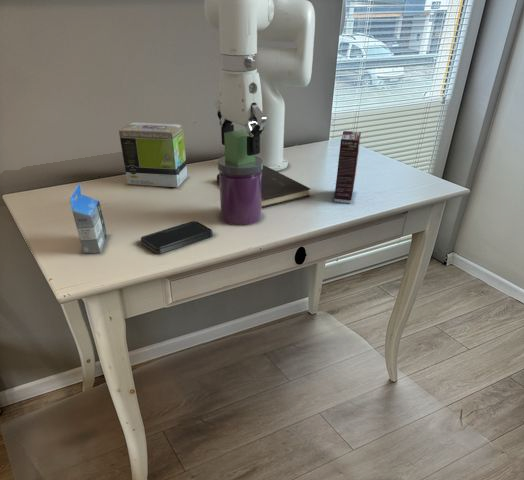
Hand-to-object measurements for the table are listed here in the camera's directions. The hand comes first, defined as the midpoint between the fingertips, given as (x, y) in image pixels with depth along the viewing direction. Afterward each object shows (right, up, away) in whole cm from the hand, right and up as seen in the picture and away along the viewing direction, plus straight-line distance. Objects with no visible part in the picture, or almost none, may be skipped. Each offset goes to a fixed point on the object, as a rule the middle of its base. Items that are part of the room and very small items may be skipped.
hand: (240, 149), depth 113 cm
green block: (0, -2, +1) cm, 3 cm away
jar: (0, -13, +10) cm, 16 cm away
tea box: (-25, +3, +29) cm, 39 cm away
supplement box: (+27, -5, +21) cm, 35 cm away
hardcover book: (+5, -1, +25) cm, 26 cm away
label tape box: (-32, -23, -3) cm, 39 cm away
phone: (-14, -21, -1) cm, 25 cm away
